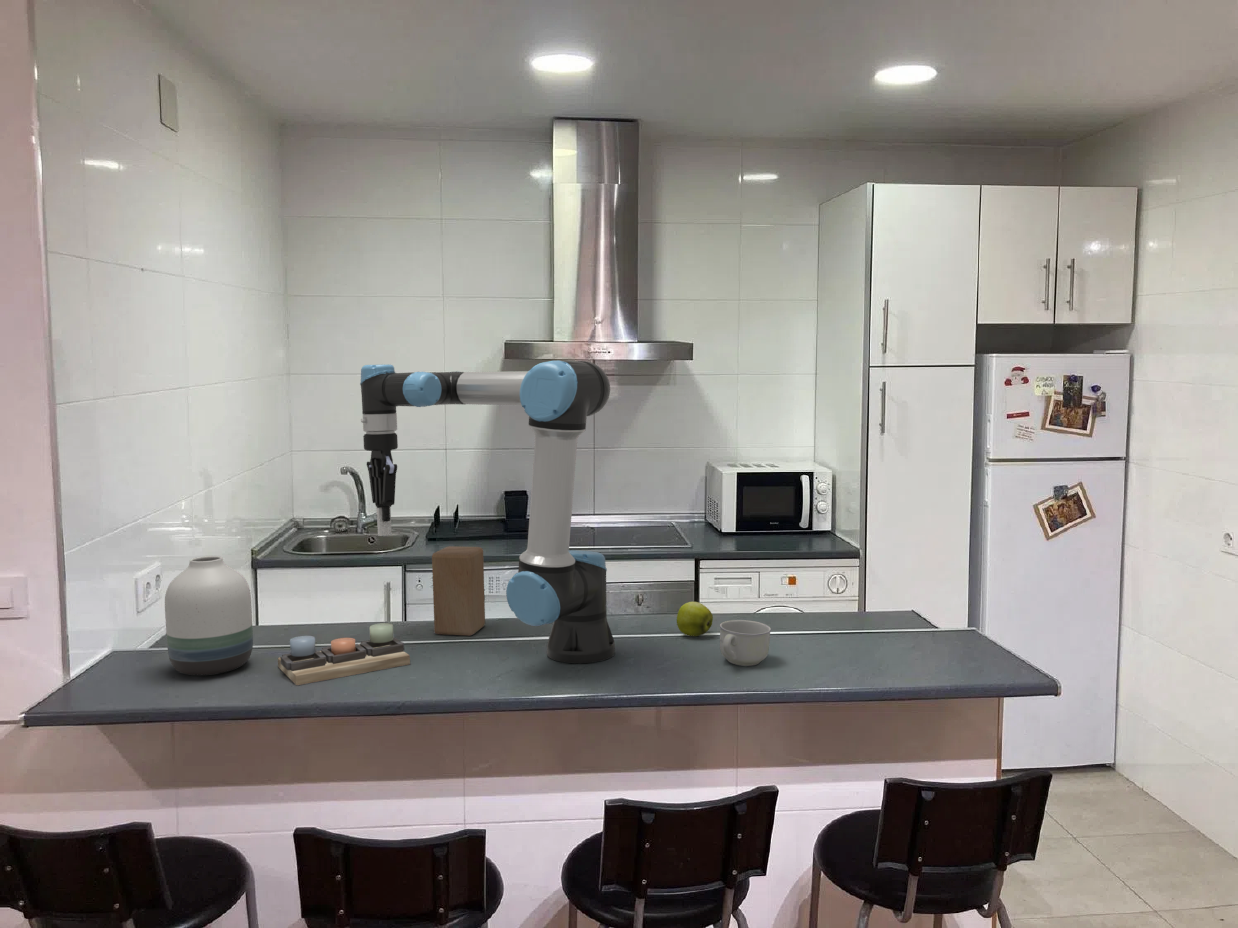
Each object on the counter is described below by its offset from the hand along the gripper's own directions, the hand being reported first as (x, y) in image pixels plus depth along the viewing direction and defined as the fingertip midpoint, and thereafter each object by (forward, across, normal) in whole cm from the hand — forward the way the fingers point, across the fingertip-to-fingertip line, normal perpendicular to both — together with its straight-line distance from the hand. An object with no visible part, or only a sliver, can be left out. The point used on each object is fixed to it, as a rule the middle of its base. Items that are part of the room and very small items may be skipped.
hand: (384, 534), depth 220 cm
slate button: (+21, +10, -23) cm, 33 cm away
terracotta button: (+23, +10, -14) cm, 29 cm away
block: (+26, 0, +18) cm, 32 cm away
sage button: (+21, +10, -6) cm, 24 cm away
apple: (+26, +38, +60) cm, 76 cm away
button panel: (+26, +10, -14) cm, 31 cm away
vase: (+26, -5, -38) cm, 46 cm away
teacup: (+26, +61, +54) cm, 86 cm away
